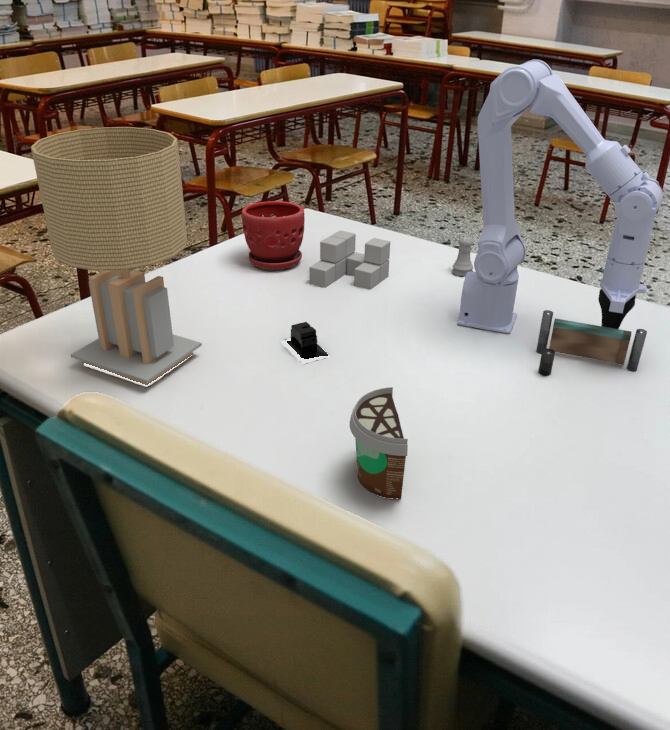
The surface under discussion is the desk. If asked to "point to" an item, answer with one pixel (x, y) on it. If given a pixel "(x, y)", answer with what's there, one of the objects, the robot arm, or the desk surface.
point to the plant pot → (273, 233)
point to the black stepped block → (305, 341)
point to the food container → (379, 444)
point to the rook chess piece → (463, 257)
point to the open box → (590, 341)
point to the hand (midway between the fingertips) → (608, 333)
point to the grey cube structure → (351, 261)
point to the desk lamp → (118, 238)
